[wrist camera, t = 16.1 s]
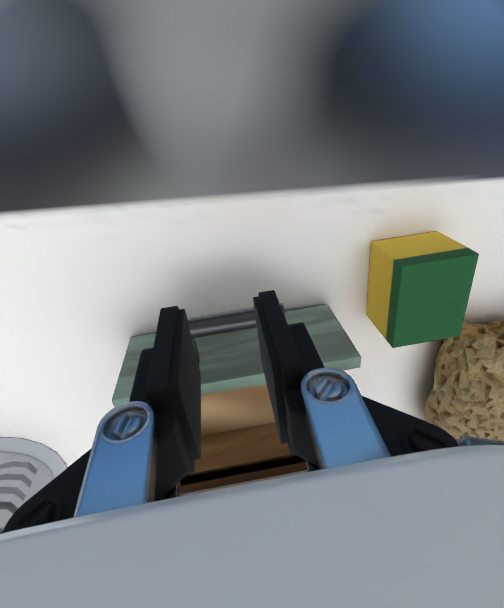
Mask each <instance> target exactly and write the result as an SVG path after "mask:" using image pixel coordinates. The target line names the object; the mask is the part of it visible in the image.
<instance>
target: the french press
mask: <svg viewBox="0 0 504 608" xmlns="http://www.w3.org/2000/svg"><path fill="white" fill-rule="evenodd" d="M65 469H67V466H66V464H65V462H64V461H63V460H62V458H61V457H60V456H59V455H58V453H56V452H54V451H53V450H51V449H49V448H48V447H46V446H44V445H43V444H40V443H37V442H33V441H29V440H25V439H22V438H0V528H2V527H4V526H6V524H7V522H8V520H9V519H10V518H11V516H12V515H13V514H14V512H15V511H16V510H17V509H18V508H19V507H20V506H21V505H23V504H24V503H25V502H26V501H27V500H28V499H30V498H31V497H32V496H33V495H35V494H36V493H37V492H38V491H40V490H41V489H42V488H43V487H44V486H46V485H47V484H48V483H49V482H51V481H52V480H53V479H54V478H56V477H57V476H58V475H59V474H61V473H62V472H63V471H64V470H65Z"/></svg>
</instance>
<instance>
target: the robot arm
mask: <svg viewBox="0 0 504 608" xmlns="http://www.w3.org/2000/svg"><path fill="white" fill-rule="evenodd" d="M258 294H259V297H253V301H254V309H255V317H256V324H257V332H258V340H259V347H260V355H261V362H262V367H263V371H264V375H265V380H266V384H267V388H268V392H269V397H270V401H271V405H272V409H273V414H274V418H275V422H276V426H277V430H278V435H279V439H280V443H281V444H285V443H287V444H288V448H289V452H290V454H293V453H294V454H296V455H298V456H300V457H301V458H303V459H305V463H306V468H307V472H306V473H300V474H295V475H290V476H284V477H279V478H274V479H269V480H264V481H258V482H253V483H248V484H243V485H237V486H232V487H227V488H222V489H217V490H212V491H206V492H201V493H196V494H191V495H186V496H181V487H180V481H181V480H182V479H183V478H184V476H185V475H186V474H188V473H193V472H195V460H199V459H201V374H200V368H199V364H198V360H197V356H196V352H195V348H194V344H193V340H192V336H191V332H190V328H189V324H188V320H187V316H186V312H185V309H180V310H179V308H178V306H173V307H167V308H161V311H160V316H159V321H158V326H157V331H156V336H155V341H154V346H153V347H152V348H146V349H143V350H142V351H141V354H140V358H139V362H138V367H137V371H136V375H135V379H134V383H133V387H132V391H131V396H130V400H129V402H127V403H124V404H121V405H119V406H117V407H115V408H113V409H112V410H111V411H109V412H108V413H107V414H106V415H105V416H104V417H103V418H102V420H101V421H100V423H99V425H98V427H97V431H96V435H95V438H94V442H93V446H92V448H91V449H90V450H89V451H88V452H86V453H85V454H84V455H83V456H81V457H80V458H79V459H78V460H77V461H75V462H74V463H73V464H72V465H70V466H69V467H68V468H67V469H65V470H64V471H63V472H62V473H61V474H59V475H58V476H57V477H56V478H54V479H53V480H52V481H51V482H49V483H48V484H47V485H46V486H44V487H43V488H42V489H41V490H40V491H38V492H37V493H36V494H35V495H33V496H32V497H31V498H30V499H28V500H27V501H26V502H25V503H24V504H23V505H21V506H20V507H19V508H18V509H17V510H16V511H15V512H14V514H13V515H12V516H11V518H10V519H9V520H8V522H7V524H6V526H4V527H2V528H0V608H504V442H503V441H497V440H490V439H484V438H478V437H471V436H465V435H463V437H462V440H461V439H454V437H453V436H451V435H450V434H449V433H448V432H446V431H445V430H444V429H442V428H440V427H438V426H436V425H434V424H431V423H429V422H426V421H424V420H421V419H419V418H416V417H413V416H411V415H408V414H406V413H403V412H401V411H398V410H396V409H393V408H391V407H388V406H386V405H383V404H381V403H378V402H376V401H373V400H371V399H368V398H366V397H363V396H361V394H360V392H359V390H358V388H357V386H356V384H355V382H354V380H353V379H352V378H351V376H349V375H348V374H347V373H345V372H344V371H341V370H339V369H335V368H325V367H324V365H323V362H322V360H321V358H320V356H319V354H318V352H317V350H316V348H315V346H314V343H313V341H312V339H311V337H310V335H309V333H308V331H307V329H306V326H305V325H304V323H303V322H300V323H294V324H287V321H286V319H285V316H284V314H283V311H282V309H281V306H280V304H279V301H278V299H277V296H276V293H275V291H274V290H271V291H265V292H259V293H258Z"/></svg>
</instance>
